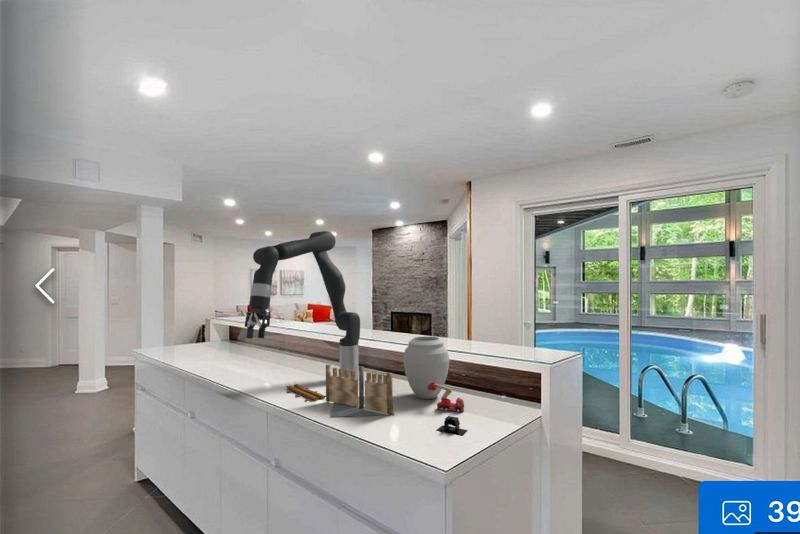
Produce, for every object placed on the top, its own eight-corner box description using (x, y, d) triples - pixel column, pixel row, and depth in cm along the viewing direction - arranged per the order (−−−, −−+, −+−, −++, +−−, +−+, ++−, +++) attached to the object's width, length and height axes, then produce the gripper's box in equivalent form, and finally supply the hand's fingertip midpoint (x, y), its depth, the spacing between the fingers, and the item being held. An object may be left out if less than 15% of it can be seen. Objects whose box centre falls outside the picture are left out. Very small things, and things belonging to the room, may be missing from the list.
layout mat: (335, 398, 165) (335, 396, 165) (390, 396, 166) (390, 395, 167) (330, 418, 141) (330, 416, 141) (394, 415, 143) (394, 414, 143)
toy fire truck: (463, 413, 145) (463, 386, 146) (427, 409, 150) (427, 383, 150) (465, 410, 148) (464, 384, 149) (429, 406, 153) (429, 381, 153)
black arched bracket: (430, 432, 129) (429, 418, 129) (439, 425, 135) (439, 411, 135) (466, 439, 123) (465, 424, 123) (474, 431, 129) (473, 417, 129)
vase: (459, 395, 166) (458, 338, 167) (430, 407, 152) (429, 343, 153) (423, 387, 179) (422, 333, 180) (393, 397, 165) (393, 338, 166)
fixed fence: (358, 409, 150) (357, 367, 151) (361, 407, 152) (360, 366, 152) (390, 416, 143) (390, 371, 143) (393, 414, 144) (393, 370, 145)
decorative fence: (308, 404, 159) (330, 399, 166) (308, 399, 159) (330, 394, 166) (281, 391, 178) (301, 387, 184) (281, 387, 178) (301, 382, 184)
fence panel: (358, 405, 153) (358, 368, 153) (355, 407, 151) (355, 369, 151) (328, 399, 160) (328, 364, 161) (324, 401, 159) (324, 365, 159)
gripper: (279, 296, 152) (273, 339, 148) (259, 299, 161) (254, 339, 157) (261, 293, 146) (255, 337, 143) (242, 296, 156) (236, 337, 152)
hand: (254, 338), depth 150 cm, fingers open, 8 cm apart
